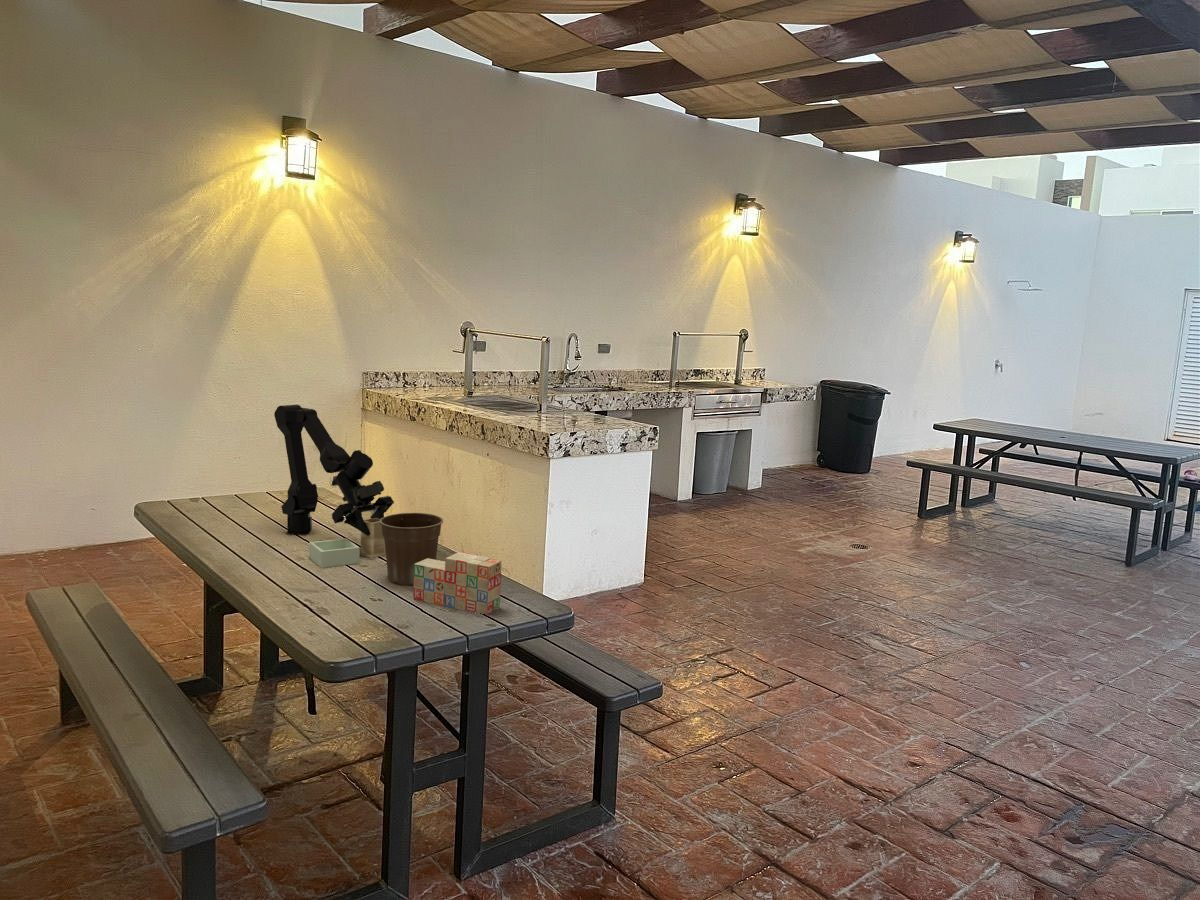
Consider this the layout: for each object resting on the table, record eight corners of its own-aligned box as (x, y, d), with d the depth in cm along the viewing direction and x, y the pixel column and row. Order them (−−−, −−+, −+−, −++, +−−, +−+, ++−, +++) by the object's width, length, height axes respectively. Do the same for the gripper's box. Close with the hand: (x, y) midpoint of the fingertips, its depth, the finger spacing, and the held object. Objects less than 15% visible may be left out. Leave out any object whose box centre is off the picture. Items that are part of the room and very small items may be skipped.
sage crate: (309, 557, 257) (309, 542, 256) (346, 553, 263) (346, 538, 262) (321, 567, 248) (321, 551, 247) (359, 563, 254) (359, 547, 253)
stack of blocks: (412, 600, 227) (413, 551, 225) (427, 593, 232) (428, 546, 230) (487, 615, 218) (488, 565, 216) (500, 608, 224) (502, 559, 222)
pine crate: (360, 554, 262) (361, 520, 261) (375, 551, 267) (375, 517, 265) (371, 558, 260) (372, 523, 258) (386, 554, 264) (386, 520, 262)
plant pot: (387, 591, 232) (388, 529, 229) (372, 573, 246) (373, 514, 243) (449, 585, 239) (451, 524, 237) (431, 567, 254) (432, 510, 251)
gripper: (338, 476, 254) (364, 522, 250) (390, 468, 269) (415, 512, 265) (320, 499, 260) (345, 545, 255) (371, 490, 275) (396, 533, 270)
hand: (377, 533), depth 261 cm, fingers closed on pine crate, 5 cm apart
